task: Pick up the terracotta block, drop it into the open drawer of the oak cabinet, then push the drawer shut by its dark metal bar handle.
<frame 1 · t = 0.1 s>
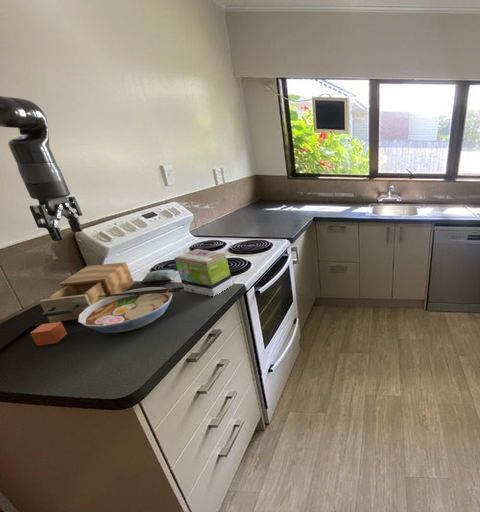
hand: (68, 235, 85), 29 cm above the countertop, tool pointing down, fingers open, 8 cm apart
packaged food: (163, 282, 120), on the countertop
drawer: (77, 301, 96), point 5 cm above the countertop, slide at 9.5 cm
cabinet: (105, 294, 110), on the countertop
ramen bowl: (136, 324, 92), on the countertop
block: (52, 339, 85), on the countertop
tea box: (209, 289, 114), on the countertop
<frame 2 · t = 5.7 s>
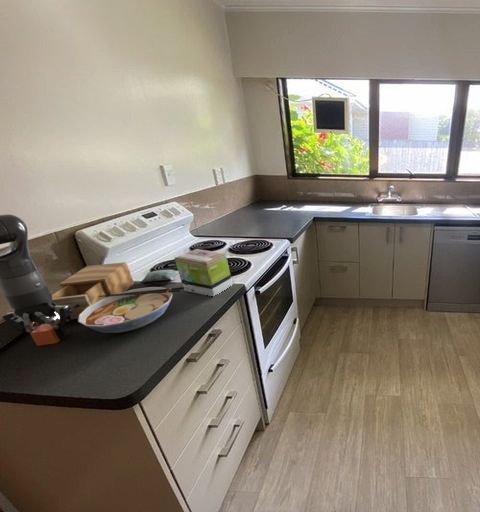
hand: (52, 338, 85), 0 cm above the countertop, tool pointing down, fingers closed on block, 4 cm apart
block: (52, 339, 85), on the countertop, touching gripper
everything else where it was.
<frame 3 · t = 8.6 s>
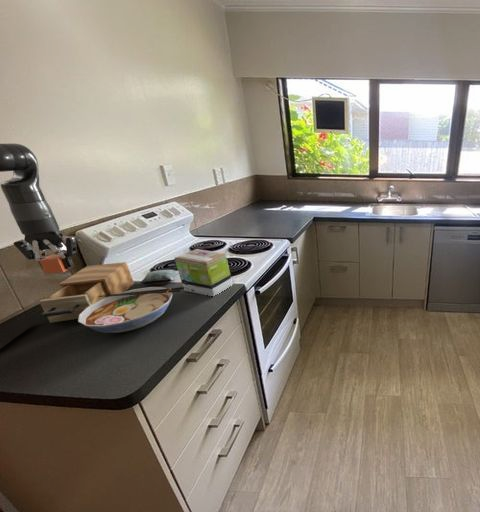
hand: (59, 269, 90), 17 cm above the countertop, tool pointing down, fingers closed on block, 4 cm apart
block: (59, 270, 90), point 17 cm above the countertop, touching gripper
everything else where it was.
when the fingers open (8 cm above the countertop, at t = 11.4 s): block drops 6 cm, resting on drawer.
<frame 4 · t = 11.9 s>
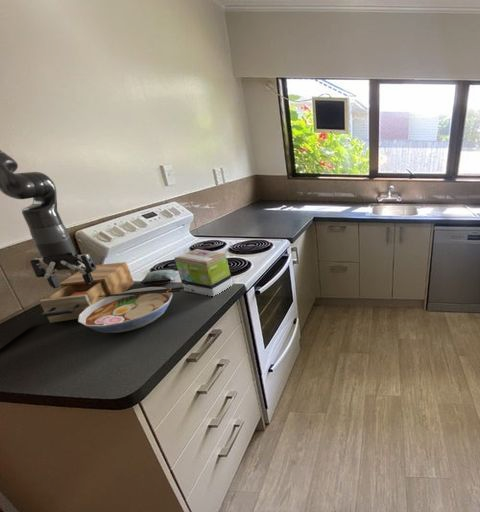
hand: (73, 285, 95), 10 cm above the countertop, tool pointing down, fingers open, 8 cm apart
drawer: (77, 301, 96), point 5 cm above the countertop, slide at 9.5 cm, touching block
block: (83, 306, 98), point 2 cm above the countertop, touching drawer
everything else where it was.
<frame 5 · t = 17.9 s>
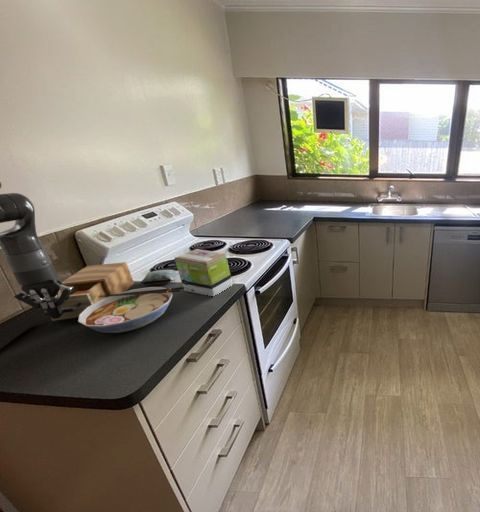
hand: (57, 317, 88), 5 cm above the countertop, tool pointing down, fingers closed
drawer: (79, 299, 97), point 5 cm above the countertop, slide at 8.5 cm, touching block, gripper
everything else where it was.
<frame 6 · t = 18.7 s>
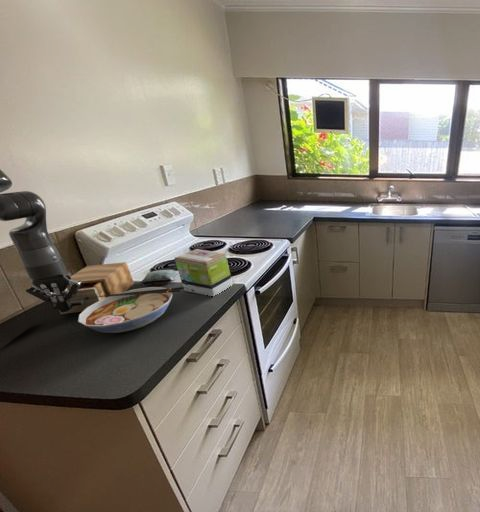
hand: (66, 310, 91), 5 cm above the countertop, tool pointing down, fingers closed
drawer: (86, 294, 100), point 5 cm above the countertop, slide at 4.6 cm, touching block, gripper
block: (92, 299, 103), point 2 cm above the countertop, touching drawer
everything else where it was.
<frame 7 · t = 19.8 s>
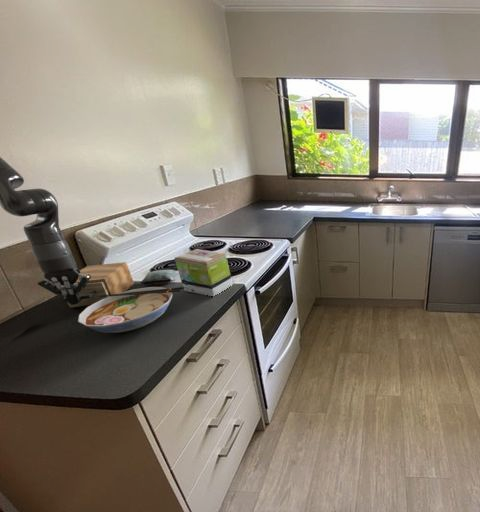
hand: (75, 303, 95), 5 cm above the countertop, tool pointing down, fingers closed
drawer: (94, 288, 104), point 5 cm above the countertop, slide at 0.0 cm, touching block, cabinet, gripper
block: (99, 293, 107), point 2 cm above the countertop, touching drawer
everything else where it was.
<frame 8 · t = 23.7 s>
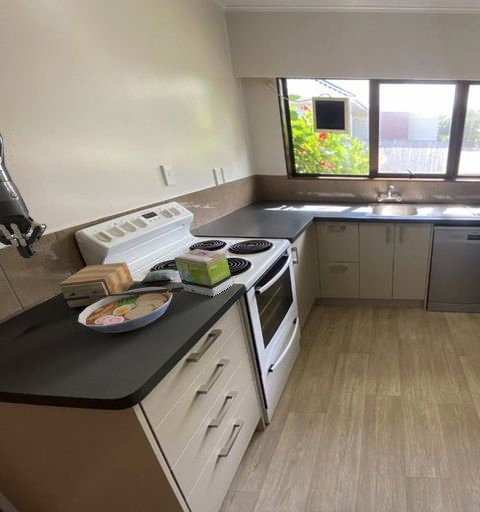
hand: (30, 257, 84), 23 cm above the countertop, tool pointing down, fingers closed
drawer: (94, 288, 104), point 5 cm above the countertop, slide at 0.0 cm, touching block
everything else where it was.
at the end: block inside the target area in the cabinet (2.5 cm from its centre), point 2.0 cm above the cabinet's base; drawer slide at 0.0 cm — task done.
